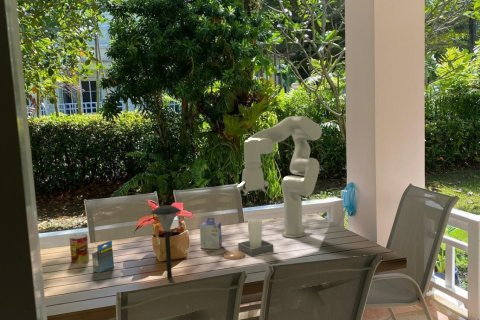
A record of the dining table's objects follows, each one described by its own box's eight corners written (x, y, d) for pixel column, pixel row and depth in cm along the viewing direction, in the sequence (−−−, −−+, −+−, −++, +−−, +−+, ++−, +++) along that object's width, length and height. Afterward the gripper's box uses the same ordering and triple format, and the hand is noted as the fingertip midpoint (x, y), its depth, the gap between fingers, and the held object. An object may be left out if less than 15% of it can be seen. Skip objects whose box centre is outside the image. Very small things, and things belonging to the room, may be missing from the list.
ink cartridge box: (222, 245, 237) (221, 217, 235) (219, 249, 232) (218, 220, 230) (203, 245, 239) (202, 217, 237) (200, 248, 234) (199, 220, 232)
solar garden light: (183, 282, 192) (180, 209, 188) (153, 284, 191) (148, 211, 187) (184, 271, 204) (181, 203, 200) (156, 273, 203) (152, 204, 199)
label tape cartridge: (108, 265, 215) (106, 239, 213) (114, 266, 213) (112, 240, 211) (92, 271, 207) (90, 244, 206) (99, 273, 205) (97, 245, 204)
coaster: (237, 250, 228) (237, 249, 228) (249, 256, 220) (249, 255, 220) (219, 255, 223) (219, 253, 223) (230, 260, 215) (230, 259, 215)
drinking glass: (248, 249, 231) (247, 219, 229) (261, 248, 231) (260, 218, 229) (249, 253, 224) (248, 222, 222) (263, 252, 225) (262, 221, 223)
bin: (259, 245, 236) (259, 238, 235) (273, 251, 226) (273, 244, 225) (238, 250, 230) (238, 243, 229) (252, 256, 219) (251, 249, 219)
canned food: (69, 260, 223) (67, 236, 221) (85, 256, 228) (83, 232, 226) (74, 265, 217) (72, 239, 215) (91, 260, 222) (89, 236, 220)
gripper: (263, 163, 230) (264, 197, 232) (232, 167, 221) (234, 203, 223) (272, 164, 223) (273, 200, 226) (241, 168, 215) (242, 205, 217)
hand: (253, 201), depth 224 cm, fingers open, 9 cm apart
